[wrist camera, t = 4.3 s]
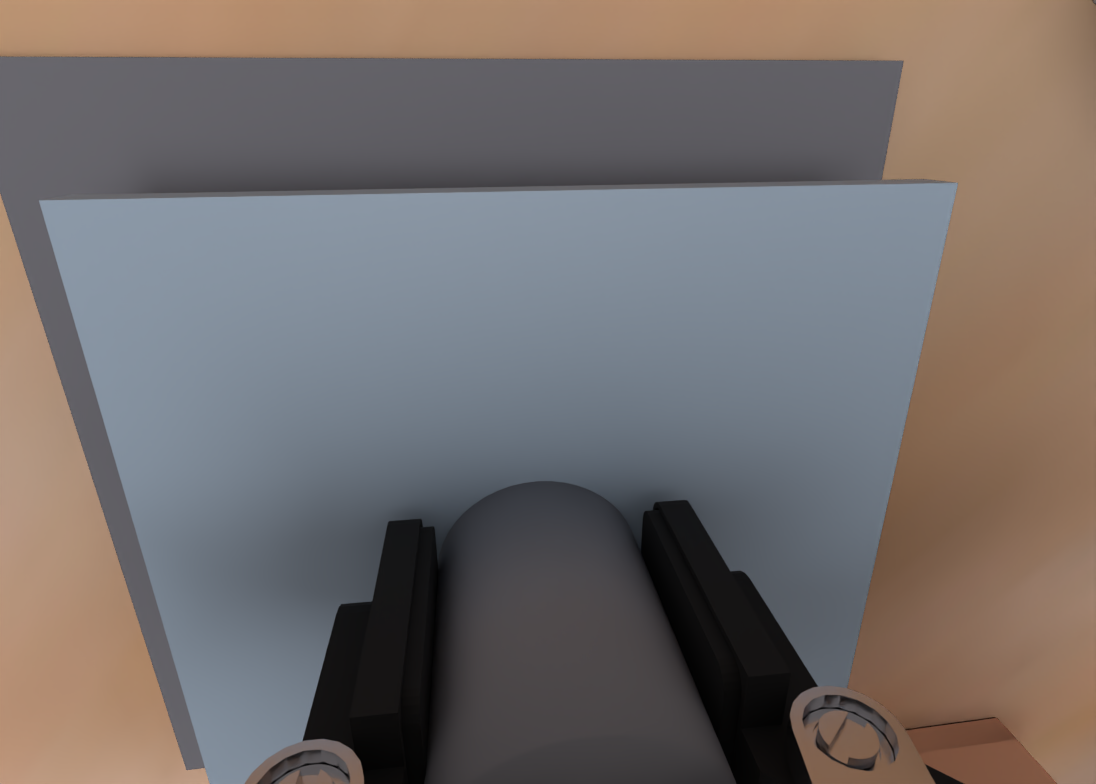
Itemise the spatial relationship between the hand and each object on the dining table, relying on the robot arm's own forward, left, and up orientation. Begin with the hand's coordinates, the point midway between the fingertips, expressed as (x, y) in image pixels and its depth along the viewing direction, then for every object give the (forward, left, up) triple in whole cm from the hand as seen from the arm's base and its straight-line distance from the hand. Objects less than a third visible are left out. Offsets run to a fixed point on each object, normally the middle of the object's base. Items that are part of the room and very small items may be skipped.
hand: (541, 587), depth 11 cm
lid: (0, 0, -1) cm, 1 cm away
